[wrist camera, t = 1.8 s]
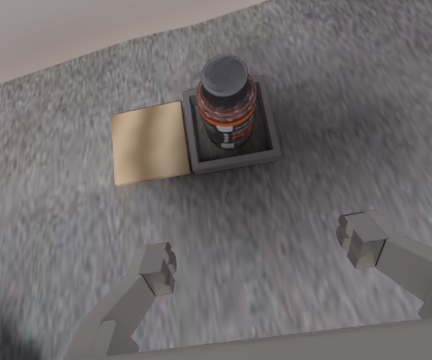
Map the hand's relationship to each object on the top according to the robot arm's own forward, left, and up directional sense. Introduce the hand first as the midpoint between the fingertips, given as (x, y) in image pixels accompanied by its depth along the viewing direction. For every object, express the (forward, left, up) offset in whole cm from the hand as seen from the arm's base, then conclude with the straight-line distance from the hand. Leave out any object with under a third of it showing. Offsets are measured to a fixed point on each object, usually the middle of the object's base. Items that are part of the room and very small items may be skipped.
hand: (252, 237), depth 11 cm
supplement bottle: (0, -13, -17) cm, 21 cm away
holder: (0, -13, -16) cm, 21 cm away
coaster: (+11, -13, -16) cm, 23 cm away
